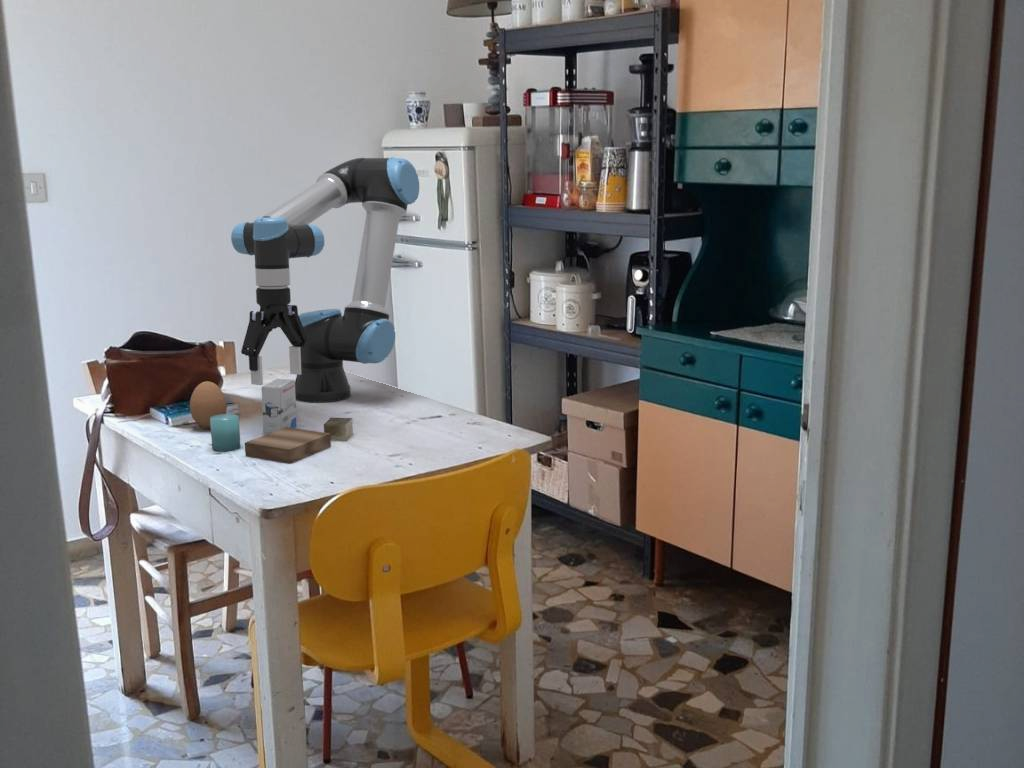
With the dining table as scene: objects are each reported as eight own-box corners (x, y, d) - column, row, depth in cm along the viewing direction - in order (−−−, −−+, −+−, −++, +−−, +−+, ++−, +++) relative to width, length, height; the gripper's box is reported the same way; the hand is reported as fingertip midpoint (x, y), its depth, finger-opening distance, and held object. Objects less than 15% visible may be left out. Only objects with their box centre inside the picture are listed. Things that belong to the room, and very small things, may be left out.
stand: (287, 439, 222) (287, 427, 221) (331, 446, 217) (330, 433, 216) (245, 456, 210) (244, 442, 209) (290, 463, 205) (289, 449, 204)
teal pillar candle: (225, 443, 220) (223, 412, 218) (246, 446, 217) (244, 415, 216) (206, 449, 215) (204, 418, 213) (227, 453, 212) (225, 421, 210)
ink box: (278, 426, 234) (276, 378, 231) (298, 427, 233) (296, 379, 230) (262, 435, 225) (259, 386, 223) (283, 437, 224) (280, 387, 222)
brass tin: (331, 434, 227) (330, 417, 227) (352, 434, 227) (352, 417, 226) (324, 441, 222) (323, 424, 221) (346, 441, 221) (345, 424, 220)
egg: (202, 422, 237) (199, 377, 234) (234, 424, 235) (231, 378, 233) (184, 431, 229) (181, 384, 226) (217, 433, 227) (214, 386, 225)
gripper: (294, 281, 234) (298, 368, 238) (221, 291, 212) (226, 387, 217) (320, 282, 231) (323, 371, 235) (248, 293, 209) (253, 390, 213)
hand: (277, 379), depth 226 cm, fingers open, 13 cm apart
